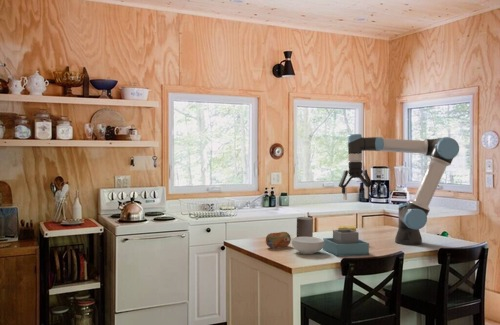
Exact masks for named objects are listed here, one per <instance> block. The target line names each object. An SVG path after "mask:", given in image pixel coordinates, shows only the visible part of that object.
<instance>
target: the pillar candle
mask: <svg viewBox="0 0 500 325" xmlns="http://www.w3.org/2000/svg"><path fill="white" fill-rule="evenodd" d="M313 226H314V217H313V218H312V217H309V216H300V217H299V216H298V217H296V237H314V236H313V233H314V232H313V230H314V227H313Z"/></svg>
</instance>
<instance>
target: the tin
mask: <svg viewBox="0 0 500 325" xmlns="http://www.w3.org/2000/svg"><path fill="white" fill-rule="evenodd" d="M291 242H292V237H291V234H289V233H288V232H286V231H279V232H276V231H275V232H270V233H268V234H267V235H266V237H265V244H266V246H267V247H269V248H270V249H279V248H285V247H288V246H289V245H290V244H291Z"/></svg>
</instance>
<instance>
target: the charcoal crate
mask: <svg viewBox="0 0 500 325" xmlns="http://www.w3.org/2000/svg"><path fill="white" fill-rule="evenodd" d="M332 238H333V242H334V243H336V244H356V243H358V239H359V231H357V230H356V231H353V230H338V229H333V230H332ZM359 240H360V239H359Z"/></svg>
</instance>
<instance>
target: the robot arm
mask: <svg viewBox="0 0 500 325" xmlns="http://www.w3.org/2000/svg"><path fill="white" fill-rule="evenodd" d="M347 138H348V139H347V145H348V146H347V147H348V148H347V150H348V154H347V156H348V170H343V172H342V173H343V175H342V176H341V178H340V181H339V184H338V187H339V188H341V194H342V195H343V196H342V198H343V200H344V201H347V200H348V189H347V188H346V187H347V186H348V185H349V184H350V182H351V180H353V179H359V180H360V181H361V182H362V183H363V184H364V199H368V200H369V193H370V187H371V186H373V182H372V180H371V178H370V176H369V174H368V169H363V162H362V161H363V152H364V151H365V152H366V151H368V152H373V151H375V152H388V153H406V154H422V155H423V156H428V157H429V159H430V162H429V164H428V167H427V168H426V171H425V173H424V175H423V178H422V179H421V182H420V184H419V186H418V188H417V191H416V193H415V195H414V197H413V199H412V200H409V201H408V203H399V204H398V223H397V224H398V229H397V232H396V234H395V238H394V242H395V243H397V244H399V245H407V246H410V245H411V246H417V245H418V246H419V245H422V244H423V238H422V234H421V232H420V229H423V228H424V227H425V226H426V225H427V222H428V215H429V212H430V206H429V205H430V203H431V201H432V199H433V196H434V194H435V192H436V190H437V187H439V184H440V181H441V179H442V178H443V177H442V176H443V174H444V173H445V170H446V168H447V167H449V166H451V164H452V162H453V160H454V158H456V156H458V155H459V152H460V145H459V143H458V141H457V140H455V139H454V138H452V137H448V136H446V137H445V136H444V137H439V138H426V139H424V140H418V139H398V138H384V137H382V136H381V137H380V136H376V137H375V136H372V137H369V136H368V137H364V136H363V137H362V134H360V133H355V134H354V133H353V134H349V135H348V137H347Z"/></svg>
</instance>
